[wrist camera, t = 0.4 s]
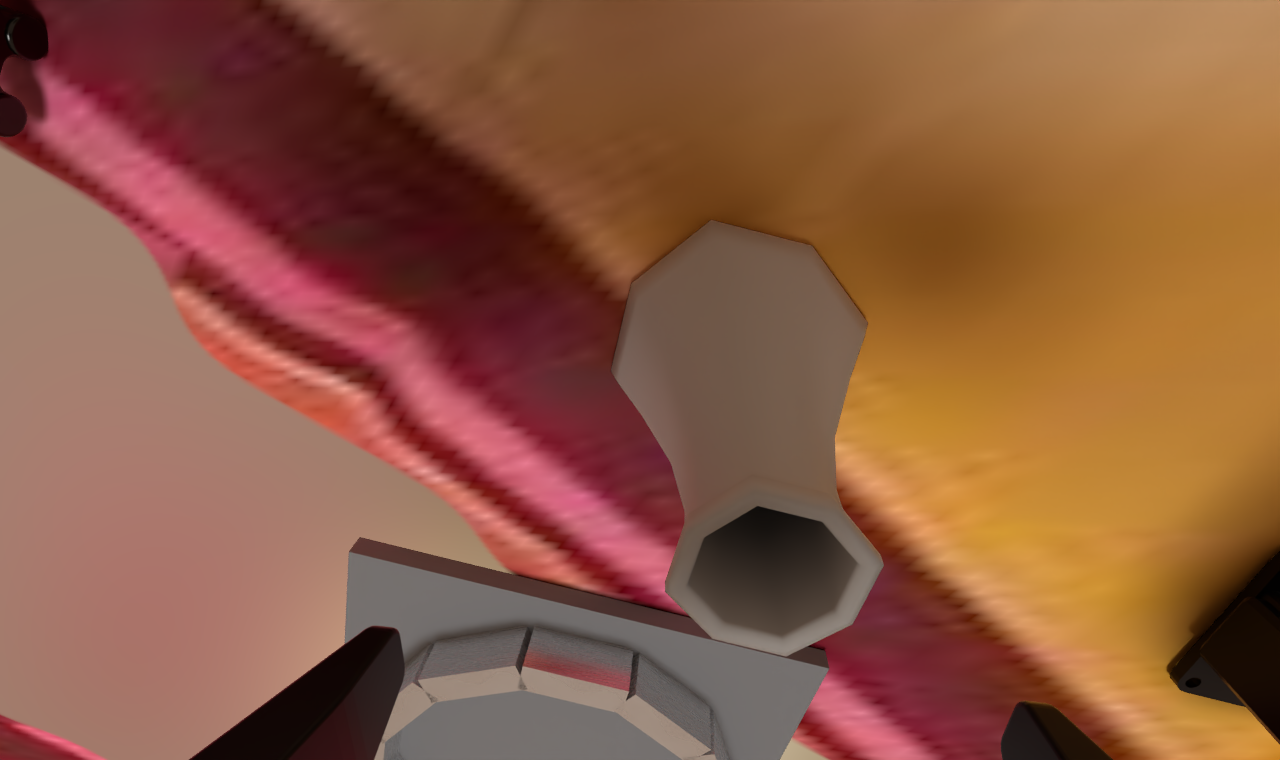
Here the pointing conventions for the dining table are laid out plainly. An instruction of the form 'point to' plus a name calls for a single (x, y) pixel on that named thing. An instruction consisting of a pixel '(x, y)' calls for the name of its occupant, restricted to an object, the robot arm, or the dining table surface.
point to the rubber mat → (492, 600)
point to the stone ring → (557, 685)
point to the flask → (751, 432)
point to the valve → (25, 39)
